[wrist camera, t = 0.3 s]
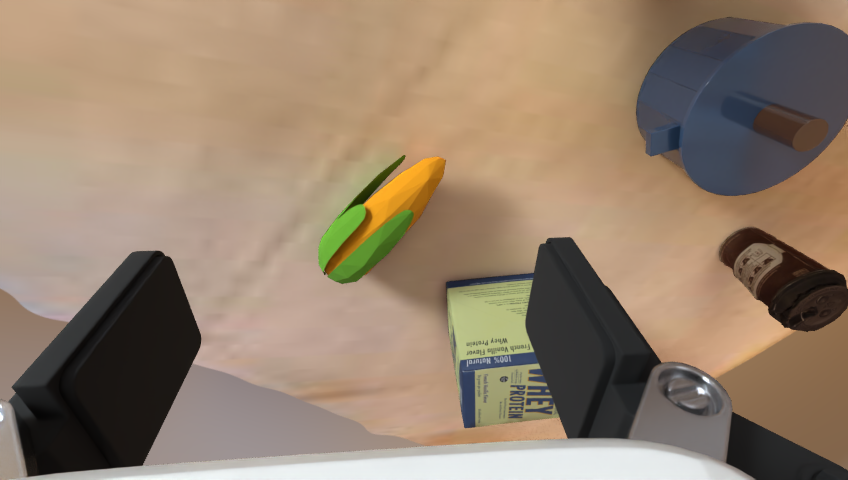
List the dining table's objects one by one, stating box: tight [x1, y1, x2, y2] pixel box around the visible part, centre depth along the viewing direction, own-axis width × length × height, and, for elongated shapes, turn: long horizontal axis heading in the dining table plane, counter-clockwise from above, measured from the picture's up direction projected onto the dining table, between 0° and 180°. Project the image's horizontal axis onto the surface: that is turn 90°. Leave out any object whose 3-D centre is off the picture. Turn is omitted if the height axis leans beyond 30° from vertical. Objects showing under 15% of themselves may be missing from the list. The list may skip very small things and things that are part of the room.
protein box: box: [446, 273, 559, 428], centre depth 54 cm, size 10×16×16 cm
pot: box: [636, 17, 785, 169], centre depth 42 cm, size 15×20×9 cm
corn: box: [318, 155, 446, 284], centre depth 48 cm, size 7×8×20 cm
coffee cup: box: [719, 227, 848, 332], centre depth 53 cm, size 9×8×13 cm
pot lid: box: [679, 22, 848, 196], centre depth 37 cm, size 16×16×6 cm
